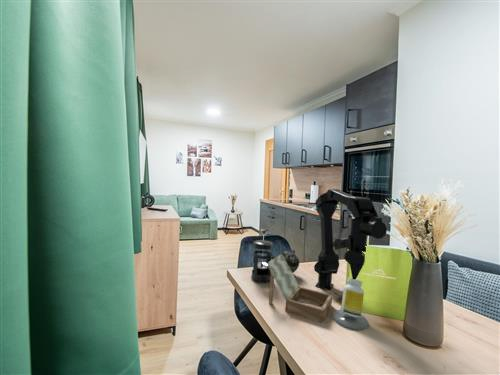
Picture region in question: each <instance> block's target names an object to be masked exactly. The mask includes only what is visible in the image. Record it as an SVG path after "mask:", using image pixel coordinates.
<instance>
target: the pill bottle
mask: <svg viewBox="0 0 500 375" xmlns="http://www.w3.org/2000/svg"><path fill="white" fill-rule="evenodd" d="M346 282H347V284H345V285H344V286H343V291H342V298H341V305H340V310H341V312H342V313H344V314H346V315H349V316H352V317H357V318H360V317H361V315H362V312H363V305H364V304H363V302H364V294H365V293H364V292H365V291H364V290H363V288H362V287H361V286H362V285H363V281H362V280H359V279H357V278H356V279H352V278H351V277H347V281H346Z"/></svg>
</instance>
